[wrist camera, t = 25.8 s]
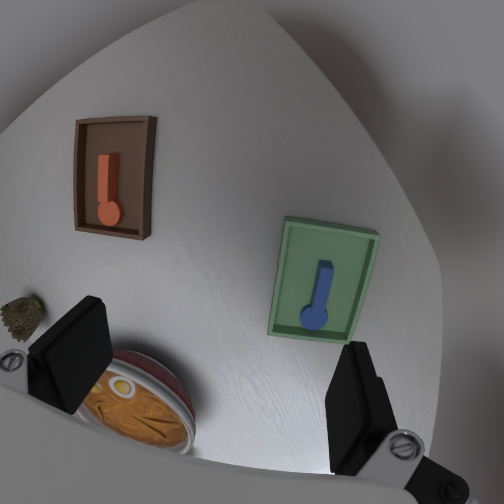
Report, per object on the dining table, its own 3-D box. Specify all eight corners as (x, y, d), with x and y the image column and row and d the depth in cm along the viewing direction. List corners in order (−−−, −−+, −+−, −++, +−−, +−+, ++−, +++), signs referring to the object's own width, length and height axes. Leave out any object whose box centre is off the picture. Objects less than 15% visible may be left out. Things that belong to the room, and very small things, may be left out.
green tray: (285, 216, 35) (285, 220, 33) (375, 230, 35) (380, 235, 32) (268, 325, 40) (267, 335, 38) (347, 334, 40) (349, 344, 37)
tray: (86, 120, 34) (75, 119, 31) (157, 117, 33) (148, 115, 31) (84, 225, 39) (74, 230, 36) (150, 235, 38) (142, 240, 36)
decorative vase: (32, 319, 47) (9, 339, 40) (21, 285, 45) (-5, 304, 37) (56, 323, 46) (31, 346, 39) (44, 288, 44) (16, 308, 36)
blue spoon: (311, 258, 36) (312, 266, 34) (339, 262, 36) (343, 270, 34) (297, 323, 39) (297, 334, 37) (323, 327, 39) (325, 337, 37)
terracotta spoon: (103, 153, 35) (92, 154, 32) (125, 153, 34) (115, 154, 32) (102, 222, 38) (92, 227, 35) (124, 225, 38) (114, 230, 35)
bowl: (84, 309, 44) (50, 341, 34) (215, 350, 43) (198, 397, 34) (99, 397, 52) (78, 429, 42) (202, 432, 51) (190, 472, 42)
